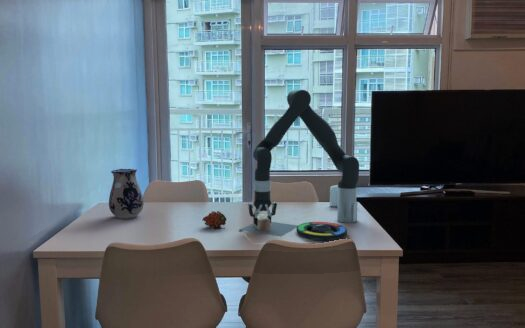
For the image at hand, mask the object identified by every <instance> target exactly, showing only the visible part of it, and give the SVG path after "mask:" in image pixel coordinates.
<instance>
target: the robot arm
mask: <svg viewBox="0 0 525 328" xmlns="http://www.w3.org/2000/svg"><path fill="white" fill-rule="evenodd" d="M311 100H312V96H311V94H310V92H309V91H308V90H306V89H293V90H291V91H289V92H288V94H287V96H286V102H287V104H288V108H287V109H286V110H285V112H284V114H283V115H281V116H280V118H279V119H278V120H277V121H276V122H274V124H273V125H272V126H271V128H270V130H269V131H268V132H267V134H266V135H265V137H264V138H263V139H262V140H261V141H260V143H258V145H256V147H255V149H254V150H253V152H252V154H253V155H252V156H253V159H254V160H255V161H256V162H257V163H256V168H255V170H254V186H253V190H254V191H253V193H254V196H253V197H254V201H253V202H252V203H248V204H247V209H248V212H249V216H250V217H251V218H253V217H254V224H255V225H257V216H258V214H260V212H266V214H267V216H266V217H267V218H269V219H270V223H271V222H272V217H273V216H275V215H276V211H277V207H278V203H277V202H276V201H271V177H270V176H271V173H270V171H271V166H272V158H273V157H272V150H273V149H274V148H276V147H277V146H278V145H280V142H281V141H282V140H283V138H284V137H285V136H286V133H287V132H288V130H289V129H290V128H291V126H292V125H293V124H294V123H295V121H297V119H298V118H300V120H301V121H302V122H303V124H304V125H305V126H306V128H307V129H308V130H309V131H310V133H311V134H312V136H313V138H314V139H315V140H316V141H317V143H318V144H319V145H320V146H321V148H322V149H323V150H324V152H325V153H327V155H328V156H329V159H330V160H331V161H332V163H333V165H334V167H335V168H336V170H338V172H340V173H341V175H342V176H341V180H339V181H338V182H337V185H338V206H337V210H336V211H337V215H336V217H337V219H336V220H337V221H338V222H340V223H344V224H345V223H351V224H352V223H353V224H354V223H355V222H356V221H357V220H358V201H357V190H358V189H357V184H358V183H359V178H360V177H359V174H360V162H359V160H358V158H357V157H355V156H352V155H348V154H347V153H345V151H344V150H343V149H342V148H341V147H340V145H339V142H338V139H337V135H336V133H335V131H334V130H333V129H332V127H331V126H330V124H329V123H328V122H327V121H326V120H325V119H324V118H323V117H322V116H320V115H319V114H318V113H316V111H314V109H312V106H311V105H310V104H311ZM254 207H255V209H254V211H253V208H254ZM270 207H272V208H271V210H270Z"/></svg>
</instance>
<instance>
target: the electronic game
mask: <svg viewBox="0 0 525 328" xmlns="http://www.w3.org/2000/svg"><path fill="white" fill-rule="evenodd" d="M295 229H296V233H298V234H299V235H300V236H301V237H303V238H306V239H307V240H310V241H311V240H313V241H316V242H317V241H319V242H329V241H331V242H332V241H337V240H340V239H342V238H343V237H345V236H346V235H347V234H348V229H347V228H346V227H345V226H344V225H341V224H339V223H334V222H328V221H327V222H326V221H311V222H310V221H309V222H303V223H301V224H299V225H298V226H297V228H295ZM336 239H337V240H336Z"/></svg>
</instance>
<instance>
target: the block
mask: <svg viewBox="0 0 525 328" xmlns="http://www.w3.org/2000/svg"><path fill="white" fill-rule="evenodd" d="M252 224H253V225H254V226H255V227H256V228H257V229H258V230H259V231H269V230H270V219H269V218H267V216H266V215H265V214H263V213H261V214H260V213H259V214H258V216H257V225H255V224H254V217H252Z"/></svg>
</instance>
